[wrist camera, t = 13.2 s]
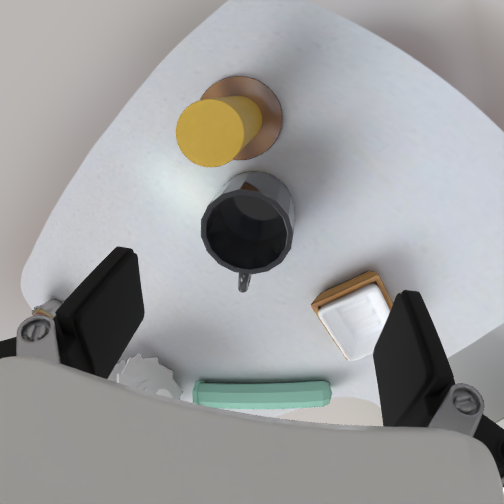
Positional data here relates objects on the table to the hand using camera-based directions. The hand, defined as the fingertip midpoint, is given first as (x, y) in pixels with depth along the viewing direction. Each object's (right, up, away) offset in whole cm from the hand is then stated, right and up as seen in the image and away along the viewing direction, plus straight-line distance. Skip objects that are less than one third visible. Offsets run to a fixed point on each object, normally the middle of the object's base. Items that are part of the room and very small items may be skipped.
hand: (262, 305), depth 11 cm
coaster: (-2, +17, +24) cm, 29 cm away
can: (-2, +17, +23) cm, 29 cm away
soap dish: (+15, -6, +34) cm, 37 cm away
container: (+2, -23, +45) cm, 51 cm away
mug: (0, +6, +30) cm, 30 cm away
